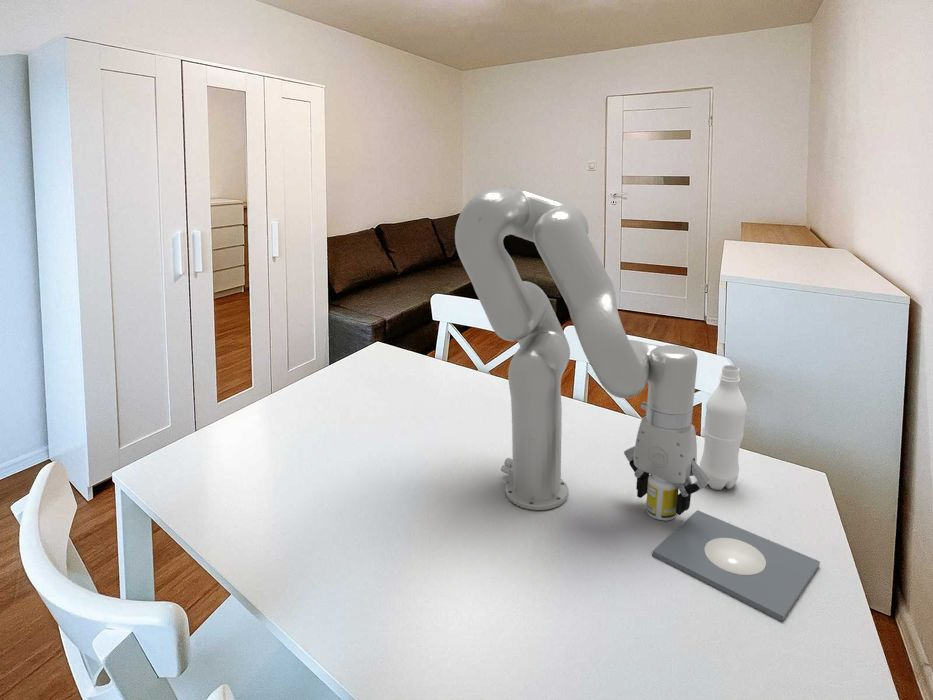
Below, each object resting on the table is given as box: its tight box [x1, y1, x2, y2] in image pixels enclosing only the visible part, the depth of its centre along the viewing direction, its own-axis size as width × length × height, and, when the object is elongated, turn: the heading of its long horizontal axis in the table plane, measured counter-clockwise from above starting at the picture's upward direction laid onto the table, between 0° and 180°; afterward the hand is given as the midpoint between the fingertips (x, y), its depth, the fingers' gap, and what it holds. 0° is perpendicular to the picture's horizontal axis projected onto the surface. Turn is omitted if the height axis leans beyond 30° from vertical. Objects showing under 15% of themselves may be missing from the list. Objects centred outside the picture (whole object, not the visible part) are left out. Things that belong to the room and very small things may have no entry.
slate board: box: [651, 509, 821, 623], centre depth 89 cm, size 20×16×1 cm
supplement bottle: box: [645, 474, 680, 521], centre depth 101 cm, size 5×5×10 cm
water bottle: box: [699, 364, 748, 491], centre depth 107 cm, size 7×7×25 cm
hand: (661, 502), depth 102 cm, fingers open, 7 cm apart
